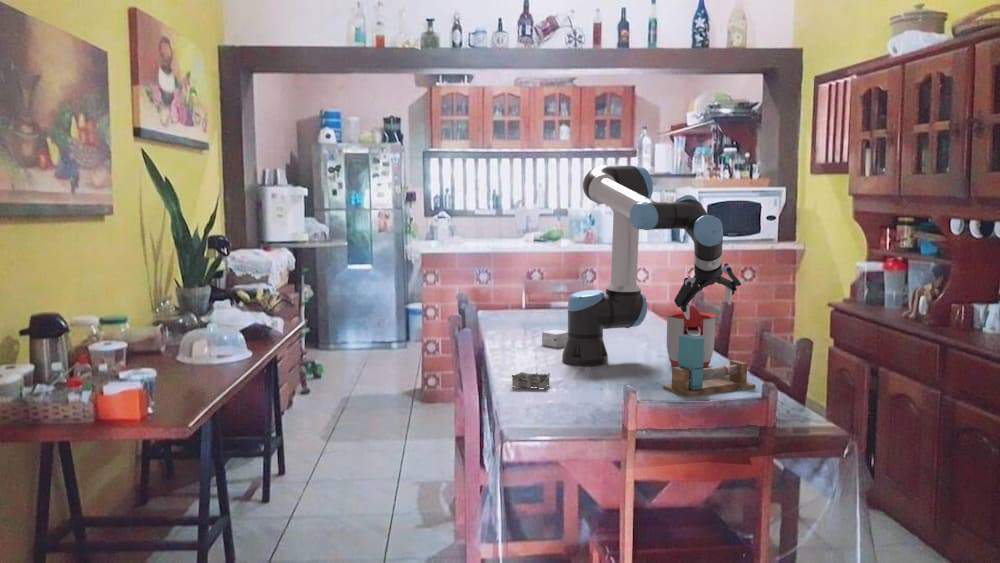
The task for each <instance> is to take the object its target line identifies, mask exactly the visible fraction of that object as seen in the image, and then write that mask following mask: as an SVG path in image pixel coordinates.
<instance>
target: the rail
mask: <svg viewBox="0 0 1000 563" xmlns="http://www.w3.org/2000/svg"><path fill="white" fill-rule="evenodd" d="M727 376H729V377H727ZM717 377H723V378H717ZM747 377H748V363H747V362H744V361H739V360H737V359H733V360H730V361H729V365H720V366H714V367H711V366H710V367H706V368H703V379H706V380H703V388H702V389H694V390H692V389H689V380H690V379H691V369H690V370H686V369H683V368H680V367H675V366H672V367H671V384H667V385H666V384H664V385H663V386H662V389H664V390H666V391H668V392H672V393H675V394H677V395H679V396H682V397H686V398H687V397H693V396H694V397H695V396H701V395H709V394H710V395H711V394H716V393H723V392H725V393H726V392H730V391H732V392H733V391H738V389H740V390H744V389H743V388H747V389H751V388H750V387H755V388H756V384H754V383H751V382H748V378H747ZM708 378H711V379H708ZM712 378H713V379H712ZM714 378H715V379H714ZM707 379H708V380H707Z"/></svg>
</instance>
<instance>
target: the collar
mask: <svg viewBox="0 0 1000 563" xmlns="http://www.w3.org/2000/svg"><path fill="white" fill-rule="evenodd" d="M703 359H704V338H702V337H698V336H694V335H690V334H686V335H679V354H678V367H680V368H683V369H686V370H691V379H690V380H689V389H692V390H694V389H702V388H703V381H704V380H703V379H704V378H703Z"/></svg>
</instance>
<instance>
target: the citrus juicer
mask: <svg viewBox="0 0 1000 563" xmlns="http://www.w3.org/2000/svg"><path fill="white" fill-rule="evenodd" d="M689 311H690V319H688V320H687V319H686V317H685V315H684V314H683V311H682V310H681V311H670V312H667V313H666V350H667V354H668V359H669V360H668V361H670V364H671V366H672V367H678V354H679V335H686V334H690V335H694V336H698V337H702V338H704V359H703V368H709V366H710V363H711V360H712V356H713V353H714V350H715V335H716V333H715V332H716V318H717V315H716V314H713V313H710V312H704V311H699V310H698V309H697V308H696V307H695V306H694V305H689Z"/></svg>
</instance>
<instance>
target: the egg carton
mask: <svg viewBox="0 0 1000 563" xmlns="http://www.w3.org/2000/svg"><path fill="white" fill-rule="evenodd" d="M511 378H512V381H511V383H512V385H511V386H515V387H527V388H531V387H537V388H547V389H548V386H547V385H549V386H550V378H551V373H543V374H542V373H540V374H539V373H538V372H536V373H526V372H519V373H515V374H512V375H511ZM515 387H514V388H515ZM527 388H526V389H527Z"/></svg>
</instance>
